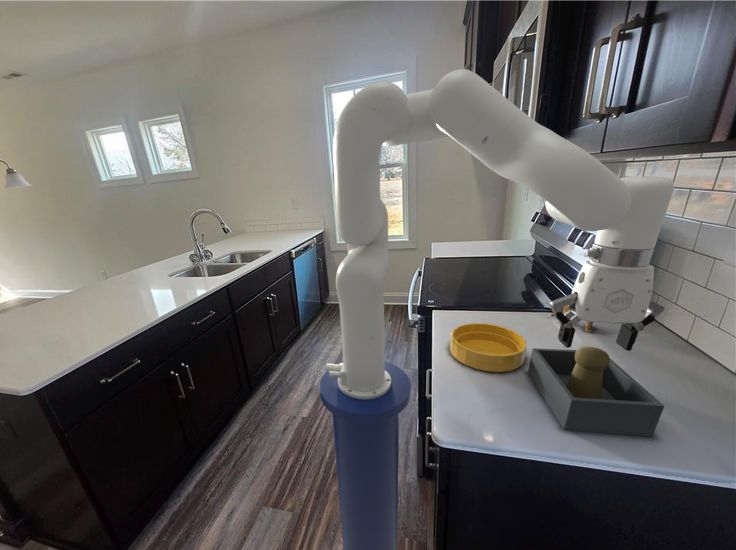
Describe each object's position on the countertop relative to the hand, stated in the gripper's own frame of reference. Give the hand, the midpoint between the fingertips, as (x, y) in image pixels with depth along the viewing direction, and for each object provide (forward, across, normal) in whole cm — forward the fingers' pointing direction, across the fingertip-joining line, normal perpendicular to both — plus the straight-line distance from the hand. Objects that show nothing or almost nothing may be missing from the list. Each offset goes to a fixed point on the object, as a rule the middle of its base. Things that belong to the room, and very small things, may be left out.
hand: (593, 345), depth 59 cm
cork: (+12, +1, 0) cm, 12 cm away
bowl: (+13, -13, +17) cm, 25 cm away
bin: (+13, +1, 0) cm, 13 cm away
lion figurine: (+12, +17, +35) cm, 41 cm away
